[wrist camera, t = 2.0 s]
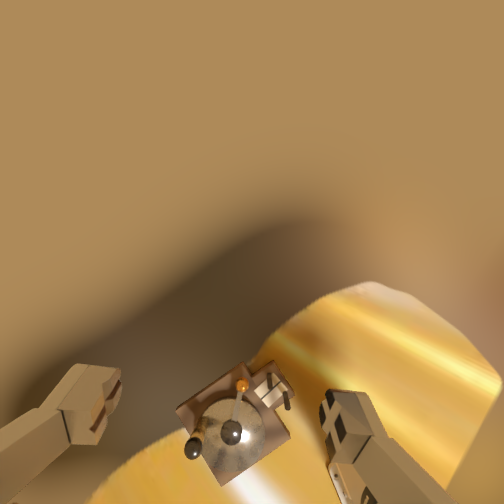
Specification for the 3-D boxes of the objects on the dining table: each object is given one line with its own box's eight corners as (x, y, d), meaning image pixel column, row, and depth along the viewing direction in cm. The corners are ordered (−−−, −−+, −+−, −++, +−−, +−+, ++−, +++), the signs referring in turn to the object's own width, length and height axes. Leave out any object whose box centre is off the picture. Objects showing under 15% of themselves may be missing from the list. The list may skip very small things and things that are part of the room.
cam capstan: (276, 381, 57) (280, 408, 46) (256, 474, 55) (255, 526, 44) (209, 364, 58) (197, 386, 47) (188, 456, 56) (170, 501, 45)
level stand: (311, 417, 58) (319, 440, 50) (222, 479, 58) (216, 512, 50) (264, 346, 60) (264, 358, 52) (178, 406, 59) (165, 427, 52)
